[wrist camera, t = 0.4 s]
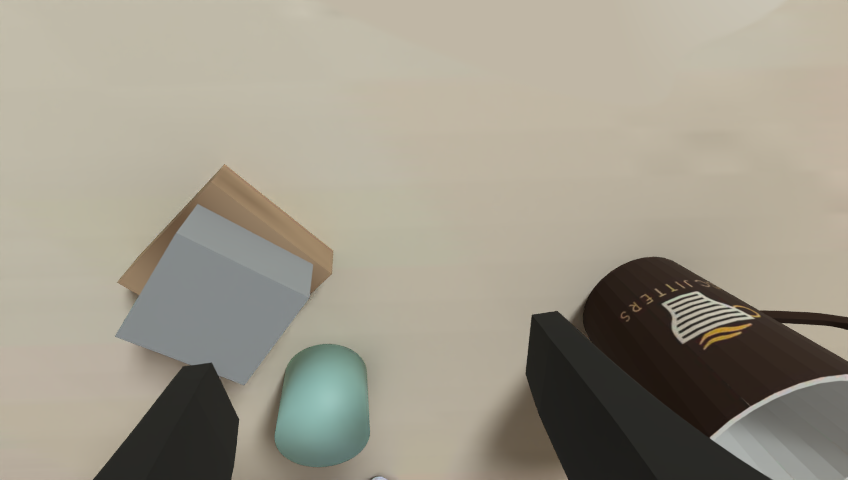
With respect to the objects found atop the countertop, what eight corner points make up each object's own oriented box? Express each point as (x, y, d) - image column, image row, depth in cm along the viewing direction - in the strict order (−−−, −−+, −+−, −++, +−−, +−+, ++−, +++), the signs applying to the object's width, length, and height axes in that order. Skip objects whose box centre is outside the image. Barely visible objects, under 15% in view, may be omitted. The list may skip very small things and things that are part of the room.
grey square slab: (255, 344, 20) (244, 385, 18) (141, 297, 18) (114, 336, 16) (313, 264, 19) (309, 297, 17) (197, 203, 17) (176, 232, 15)
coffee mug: (546, 362, 27) (644, 536, 18) (591, 233, 23) (742, 374, 14) (712, 363, 29) (870, 517, 20) (777, 246, 25) (1006, 373, 16)
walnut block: (252, 322, 23) (242, 356, 21) (141, 252, 20) (116, 282, 18) (333, 246, 22) (332, 273, 19) (226, 161, 19) (211, 181, 17)
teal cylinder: (329, 415, 26) (326, 478, 23) (267, 379, 24) (254, 442, 21) (382, 370, 25) (388, 429, 22) (323, 330, 23) (319, 387, 20)
